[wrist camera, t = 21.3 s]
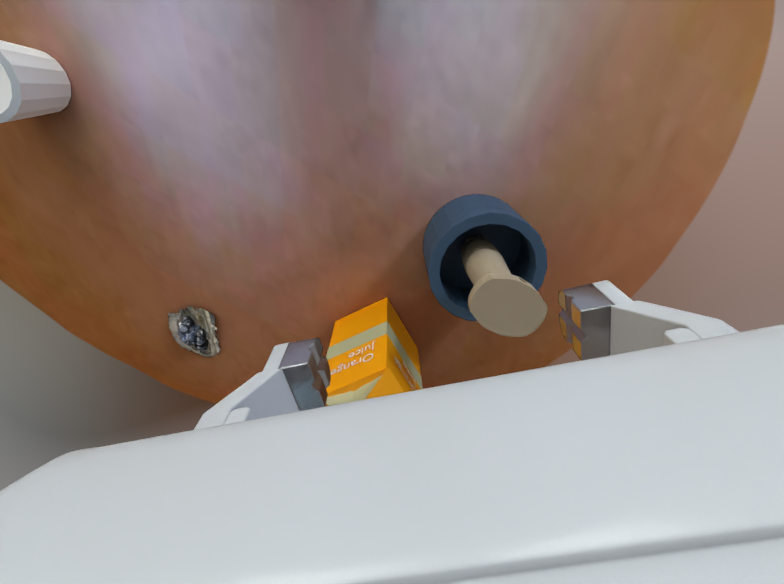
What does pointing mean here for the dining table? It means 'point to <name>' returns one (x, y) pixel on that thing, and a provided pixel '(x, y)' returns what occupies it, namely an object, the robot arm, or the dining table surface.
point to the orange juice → (371, 356)
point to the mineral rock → (195, 331)
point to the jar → (498, 228)
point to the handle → (499, 292)
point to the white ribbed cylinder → (30, 83)
